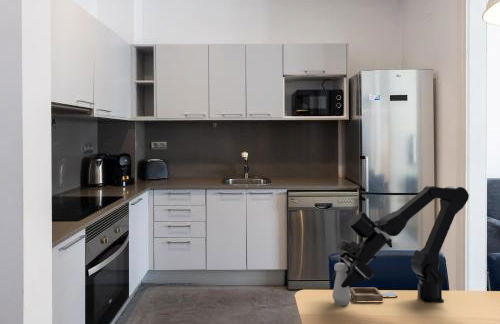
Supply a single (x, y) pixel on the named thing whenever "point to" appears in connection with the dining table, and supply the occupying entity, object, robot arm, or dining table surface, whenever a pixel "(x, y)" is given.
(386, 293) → the grey rectangular slab
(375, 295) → the walnut socket
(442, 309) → the dining table surface
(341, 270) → the salt shaker
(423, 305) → the dining table surface
